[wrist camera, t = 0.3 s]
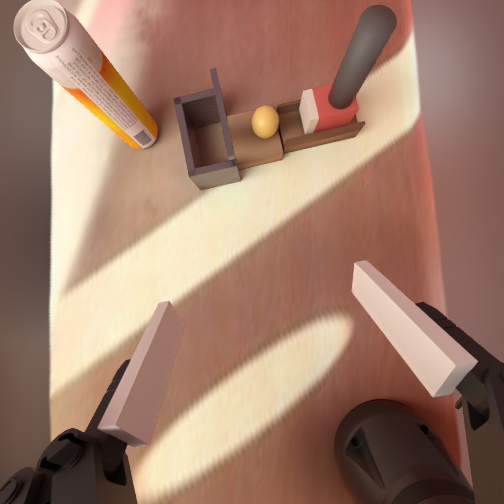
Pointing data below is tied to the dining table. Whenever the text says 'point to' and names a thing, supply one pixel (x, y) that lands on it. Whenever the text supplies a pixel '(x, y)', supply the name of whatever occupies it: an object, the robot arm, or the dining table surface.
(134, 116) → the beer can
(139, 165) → the dining table surface
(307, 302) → the dining table surface
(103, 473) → the robot arm
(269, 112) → the ball
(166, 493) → the dining table surface
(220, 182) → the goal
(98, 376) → the dining table surface
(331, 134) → the rail
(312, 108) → the post on red base
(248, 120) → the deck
